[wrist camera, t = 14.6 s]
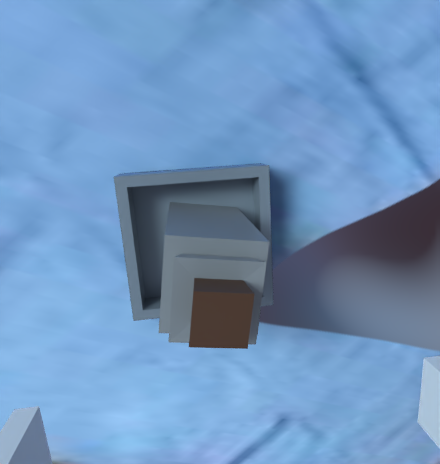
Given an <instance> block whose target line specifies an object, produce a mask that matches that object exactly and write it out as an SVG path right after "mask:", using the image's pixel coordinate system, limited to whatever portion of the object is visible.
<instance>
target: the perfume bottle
mask: <svg viewBox="0 0 440 464" xmlns="http://www.w3.org/2000/svg"><path fill="white" fill-rule="evenodd" d="M269 243H270V242H269V241H268V240H267V239H266V238H265V237H264V235H263V234H262V233H261V232H260V231H259V230H258V229H257V228H256V227H255V226H254V225H253V224H252V223H251V222H250V221H249V220H248V219H247V217H246V216H245V215H244V214H243V213H242V212H241V211H240V210H239V209H238V208H237V207H230V206H217V205H204V204H191V203H178V202H170V204H169V211H168V217H167V224H166V230H165V239H164V255H163V271H162V287H161V304H160V320H159V333H169V342H180V343H189V347H204V348H247V349H248V344H256V339H257V334H258V326H259V319H260V311H261V303H262V296H263V288H264V281H265V273H266V266H267V258H268V250H269Z"/></svg>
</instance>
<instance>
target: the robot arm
mask: <svg viewBox="0 0 440 464" xmlns="http://www.w3.org/2000/svg"><path fill="white" fill-rule="evenodd" d="M418 423H419V424H420V426H421V427H422V428H423V429H424V430H425V432H426V433H427V434H428V435H429V436H430V438H431V439H432V440H433V441H434V442H435V443H436V445H437V446H438V447H439V448H440V356H434V357H426V358H424V362H423V372H422V383H421V393H420V403H419V414H418ZM0 464H52V460H51V456H50V451H49V447H48V443H47V438H46V434H45V430H44V426H43V421H42V417H41V413H40V408H39V406H37V407H29V408H21V409H14V410H13V412H12V414H11V415H10V417H9V418H8V420H7V422H6V423H5V425H4V427H3V428H2V430H1V431H0Z"/></svg>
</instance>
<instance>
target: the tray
mask: <svg viewBox="0 0 440 464" xmlns="http://www.w3.org/2000/svg"><path fill="white" fill-rule="evenodd" d="M114 183H115V190H116V197H117V204H118V211H119V219H120V226H121V233H122V240H123V248H124V255H125V262H126V269H127V277H128V284H129V291H130V298H131V306H132V313H133V320H134V321H137V320H145V319H154V318H160V304H161V287H162V271H163V255H164V239H165V230H166V224H167V217H168V211H169V204H170V202H178V203H191V204H204V205H217V206H230V207H237V208H238V209H239V210H240V211H241V212H242V213H243V214H244V215H245V216H246V217H247V219H248V220H249V221H250V222H251V223H252V224H253V225H254V226H255V227H256V228H257V229H258V230H259V231H260V232H261V233H262V234H263V235H264V237H265V238H266V239H267V240H268V241H269V242H270V243H269V250H268V258H267V266H266V273H265V281H264V288H263V296H262V303H261V306H269V305H273V274H272V242H271V209H270V176H269V165H265V164H261V163H260V164H246V165H233V166H219V167H206V168H192V169H179V170H165V171H152V172H138V173H124V174H119V175H117V176H115V177H114Z"/></svg>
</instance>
